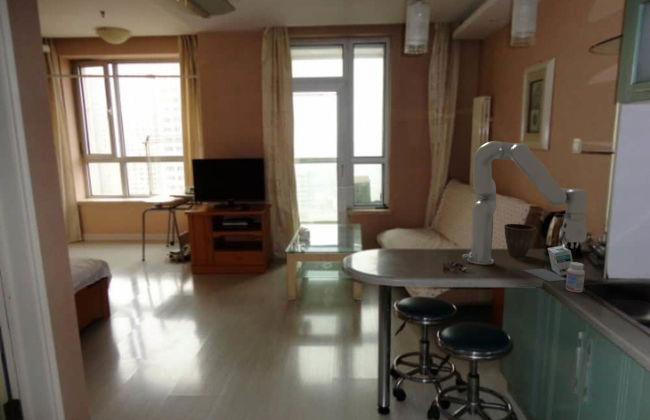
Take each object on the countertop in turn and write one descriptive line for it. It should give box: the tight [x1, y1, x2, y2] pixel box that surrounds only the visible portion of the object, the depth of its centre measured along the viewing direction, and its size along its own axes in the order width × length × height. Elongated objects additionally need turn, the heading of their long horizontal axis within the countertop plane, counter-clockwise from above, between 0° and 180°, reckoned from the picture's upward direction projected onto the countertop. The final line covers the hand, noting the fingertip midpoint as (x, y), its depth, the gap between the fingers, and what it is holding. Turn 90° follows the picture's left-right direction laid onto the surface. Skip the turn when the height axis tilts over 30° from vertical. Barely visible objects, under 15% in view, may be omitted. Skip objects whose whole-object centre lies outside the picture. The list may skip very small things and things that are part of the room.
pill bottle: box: [565, 261, 586, 293], centre depth 166 cm, size 6×6×11 cm
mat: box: [522, 268, 567, 283], centre depth 186 cm, size 11×16×1 cm
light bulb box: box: [547, 245, 574, 276], centre depth 188 cm, size 11×7×11 cm, turn 169°
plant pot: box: [503, 223, 537, 259], centre depth 216 cm, size 15×15×16 cm
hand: (571, 256), depth 188 cm, fingers closed
